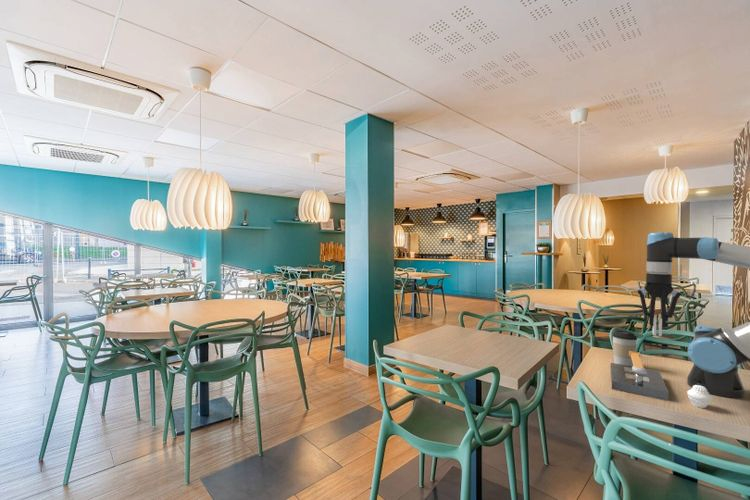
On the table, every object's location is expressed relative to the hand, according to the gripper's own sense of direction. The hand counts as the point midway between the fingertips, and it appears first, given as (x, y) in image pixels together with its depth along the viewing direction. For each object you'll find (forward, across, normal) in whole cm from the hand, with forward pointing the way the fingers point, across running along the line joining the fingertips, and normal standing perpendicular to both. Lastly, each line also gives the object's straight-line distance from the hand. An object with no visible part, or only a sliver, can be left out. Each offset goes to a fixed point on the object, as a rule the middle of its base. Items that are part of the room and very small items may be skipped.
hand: (657, 334), depth 130 cm
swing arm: (+12, +6, +2) cm, 14 cm away
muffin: (+20, -10, +13) cm, 26 cm away
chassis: (+19, +6, +2) cm, 20 cm away
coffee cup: (+20, +9, -21) cm, 30 cm away
